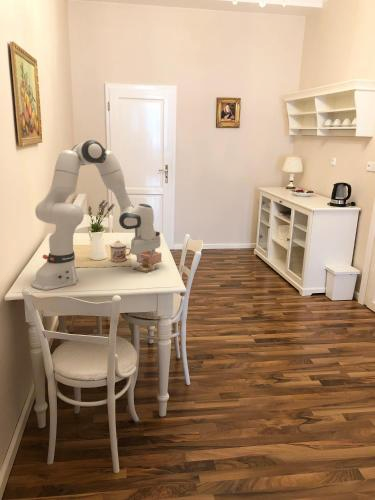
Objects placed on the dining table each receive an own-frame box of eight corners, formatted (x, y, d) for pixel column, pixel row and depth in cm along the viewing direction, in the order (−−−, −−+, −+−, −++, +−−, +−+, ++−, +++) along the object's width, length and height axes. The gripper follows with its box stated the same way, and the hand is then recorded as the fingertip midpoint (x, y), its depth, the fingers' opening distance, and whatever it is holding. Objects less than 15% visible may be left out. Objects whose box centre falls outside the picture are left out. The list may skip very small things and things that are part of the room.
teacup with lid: (111, 262, 230) (111, 243, 226) (109, 258, 238) (109, 239, 235) (132, 261, 233) (132, 241, 230) (129, 256, 242) (129, 238, 238)
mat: (146, 273, 214) (146, 272, 214) (132, 268, 220) (132, 268, 220) (158, 268, 222) (158, 267, 222) (145, 264, 228) (145, 264, 228)
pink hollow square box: (149, 265, 227) (149, 256, 226) (136, 261, 233) (136, 253, 232) (161, 261, 235) (161, 252, 234) (148, 257, 241) (148, 249, 239)
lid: (145, 272, 214) (145, 263, 213) (132, 268, 220) (132, 259, 219) (158, 268, 222) (158, 259, 220) (145, 264, 228) (145, 256, 226)
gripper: (136, 239, 207) (136, 264, 211) (162, 231, 222) (162, 255, 226) (127, 237, 210) (128, 262, 214) (153, 229, 226) (154, 253, 230)
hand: (145, 258), depth 220 cm, fingers open, 8 cm apart
